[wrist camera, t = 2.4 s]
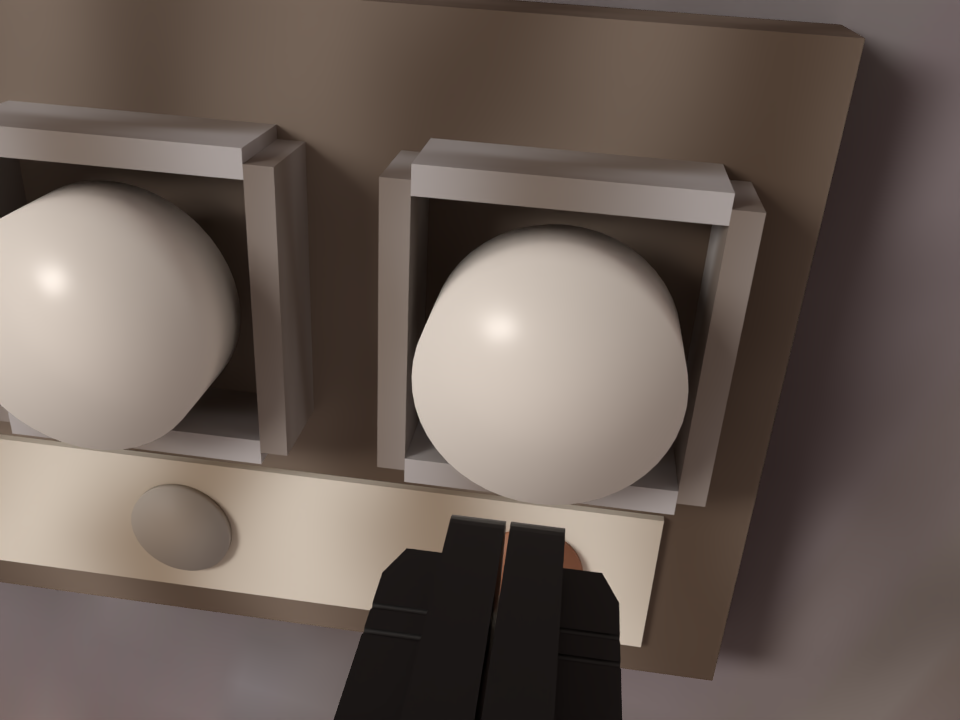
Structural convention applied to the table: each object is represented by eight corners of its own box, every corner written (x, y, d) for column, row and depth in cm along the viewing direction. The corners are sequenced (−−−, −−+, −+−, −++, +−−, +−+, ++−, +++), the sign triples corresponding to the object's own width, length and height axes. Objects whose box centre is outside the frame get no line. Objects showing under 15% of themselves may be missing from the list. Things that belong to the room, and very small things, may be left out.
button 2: (700, 237, 17) (711, 276, 15) (660, 463, 19) (665, 520, 17) (434, 211, 17) (415, 247, 16) (427, 435, 20) (408, 488, 18)
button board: (840, 24, 18) (894, 55, 15) (705, 626, 26) (720, 743, 22) (-421, -70, 21) (-632, -63, 17) (-216, 503, 28) (-335, 591, 25)
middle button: (231, 192, 18) (189, 225, 16) (247, 413, 20) (211, 464, 18) (-11, 169, 18) (-78, 198, 16) (31, 388, 21) (-24, 434, 19)
